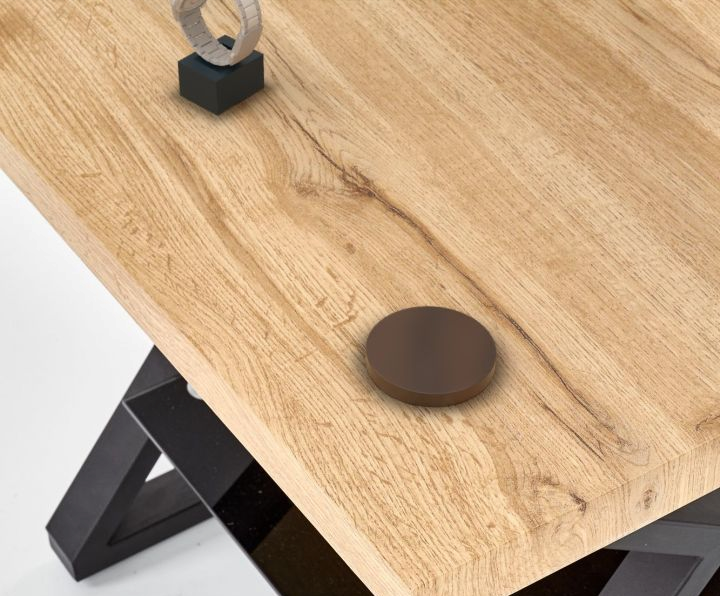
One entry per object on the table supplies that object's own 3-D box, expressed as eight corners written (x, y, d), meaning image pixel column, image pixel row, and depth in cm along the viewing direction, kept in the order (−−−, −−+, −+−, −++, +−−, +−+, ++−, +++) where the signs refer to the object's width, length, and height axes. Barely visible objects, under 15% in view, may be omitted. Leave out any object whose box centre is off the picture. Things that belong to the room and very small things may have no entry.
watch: (210, 59, 133) (203, -65, 125) (280, 95, 130) (277, -29, 121) (162, 86, 130) (152, -39, 122) (232, 124, 127) (227, -1, 118)
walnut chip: (488, 318, 112) (490, 305, 111) (501, 406, 106) (502, 393, 105) (362, 319, 112) (362, 306, 111) (367, 407, 106) (368, 394, 105)
